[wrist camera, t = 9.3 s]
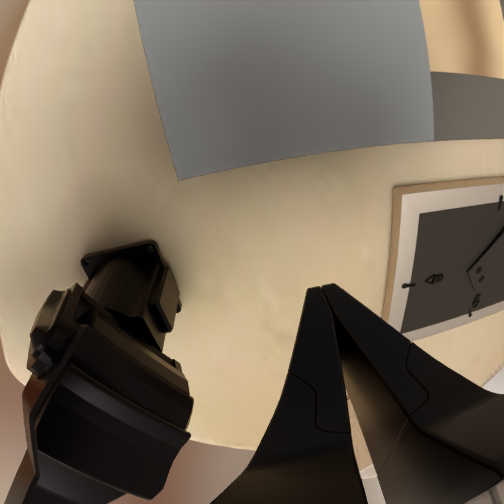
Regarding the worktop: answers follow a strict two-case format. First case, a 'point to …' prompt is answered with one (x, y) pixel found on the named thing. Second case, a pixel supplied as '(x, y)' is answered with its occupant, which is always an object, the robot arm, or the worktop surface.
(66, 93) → the worktop surface
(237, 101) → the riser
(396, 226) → the picture frame
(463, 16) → the coaster
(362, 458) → the white cup
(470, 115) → the rubber mat
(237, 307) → the worktop surface
